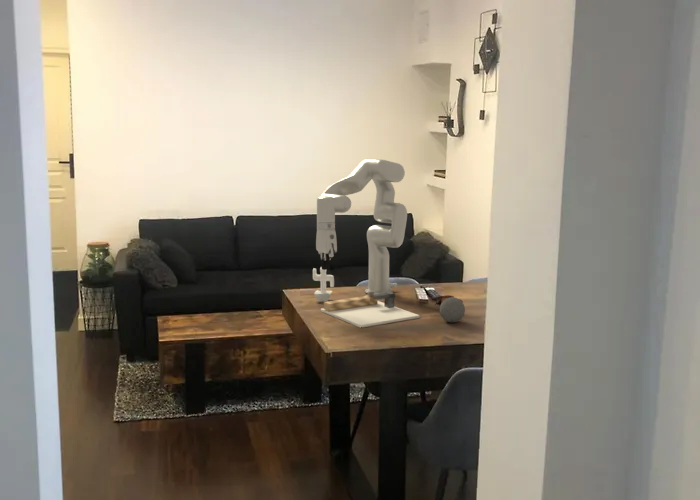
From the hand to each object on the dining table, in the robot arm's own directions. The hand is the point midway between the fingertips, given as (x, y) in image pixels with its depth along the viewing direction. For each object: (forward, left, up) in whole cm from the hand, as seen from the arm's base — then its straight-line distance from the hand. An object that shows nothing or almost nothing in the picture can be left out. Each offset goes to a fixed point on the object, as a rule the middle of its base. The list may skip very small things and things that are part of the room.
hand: (325, 269), depth 319 cm
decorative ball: (-32, +45, -17) cm, 58 cm away
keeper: (-20, +15, -16) cm, 29 cm away
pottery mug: (-41, +32, -17) cm, 55 cm away
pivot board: (-10, +18, -17) cm, 27 cm away
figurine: (-7, -13, -17) cm, 23 cm away
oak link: (-9, +7, -16) cm, 19 cm away
